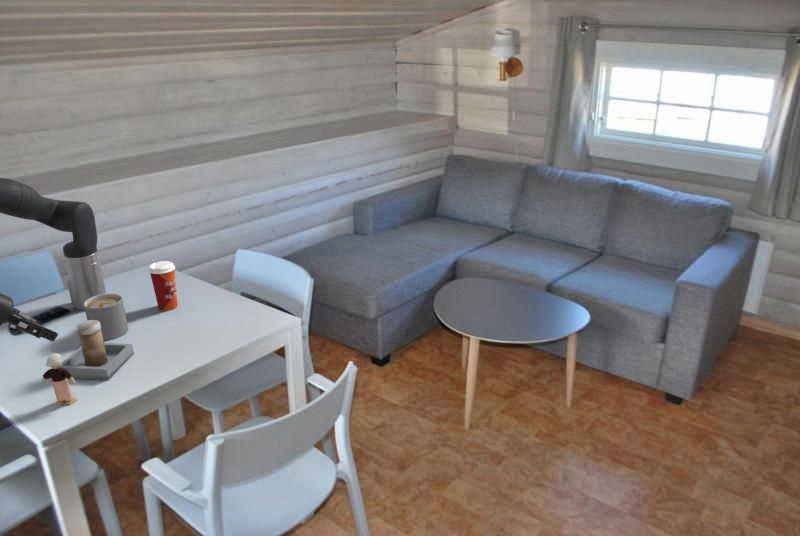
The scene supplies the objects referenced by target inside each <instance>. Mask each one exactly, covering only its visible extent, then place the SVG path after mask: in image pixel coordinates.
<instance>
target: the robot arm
mask: <svg viewBox="0 0 800 536" xmlns="http://www.w3.org/2000/svg"><path fill="white" fill-rule="evenodd" d="M0 214H3V215H7V216H10V217H14V218H18V219H22V220H23V219H24V220H29V221H35V222H38V223H40V224H43V225H46V226H48V227H50V228H51V229H55V230H57V231H59V232H65V233H66V232H67V233H72V240H71V241H69V242H66V243H65V244H64V245H63V247H62V252H63V256H64V261H65V266H66V270H67V275H68V278H66V284H67V288H68V293H69V297H70V301H71V305H72V308H76V309H77V310H79V311H80V310H81V311H85V308H84V302H85V301H86V300H88V299H89V298H91V297H94V296H97V295H101V294H107V292H106V291H107V290H106V286H105V282H104V276H103V272H102V266H101V261H100V257H99V252H98V231H97V225H96V218H95V217H96V216H95V213H94V211H93V208H92V207H91V206H90V204H89V203H87V202H85V201H74V200H59V199H53V198H49V197H45V196H42V195H41V194H40V193H38V191H37V190H36V189H34V188H33V187H31V186H30V185H28V184H25V183H22V182H19V181H16V180H14V179H11V178H6V177H5V178H4V177H0ZM14 306H15V305H14V300H13V298H11V297H10V296H8V295H6V294H3V293H1V292H0V326H2V325H3V324H6V325H7V326H8V327H9V328H12V329H16V330H17V331H18V330H19V331H20V332H22V333H24V334H28V335H31V336H33V337H35V338H37V339H41V338H43V339H45V340H48V341H50V342H55V340H56V339H57V338H58V335H59V333H58V332H57V331H55V330H51V329H49V328H48V327H45V326H44V325H43V322H42V321H41V320H37V319H35V318H33V317H31V316H29V315H28V314H26V313H25V312H24V311H22V310H21V309H18V308H16V307H14Z"/></svg>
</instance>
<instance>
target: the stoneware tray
mask: <svg viewBox="0 0 800 536" xmlns="http://www.w3.org/2000/svg"><path fill="white" fill-rule="evenodd" d="M104 346H105V351H106V355H107V360H108V361H107V363H106V364H104V365H103V366H100V367H88V366H86V364H85V360H84V356H83V351H82V347H81V346H80V347H79V348H76V350H75V351H74V352H73V353H71V354H70V356H68V357H67V358H66V359H65V360H64V361H62V365H61V368H64V369H66V370H67V371H68V372H69V373H70V374H71V375H72V377H73V378H74V379H80V380H81V379H82V380H103V381H104V380H105V381H108V380H111V378H112V377H113V376H114V375H115V374H116V373H117V372H118V371H119V370H120V369H121V368H122V367H123V366H124V365H125V364H126V363H127V362H128V361H129V360H130V358H132V356H133V355H134V354H135V352H134V347H133V343H116V342H115V343H114V342H104Z"/></svg>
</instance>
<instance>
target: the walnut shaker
mask: <svg viewBox="0 0 800 536" xmlns="http://www.w3.org/2000/svg"><path fill="white" fill-rule="evenodd" d="M76 330H77V334H78V337H79V342H80V347H82V351H83V356H84V360H85V364H86V366H88V367H100V366H103V365H104V364H106V363H107V361H108V360H107V355H106V351H105V346H104V343H105V342H104V341H103V337H102V332H101V325H100V322H99V321H98V320H88V321H87V320H85V321H81V322H80V323H78V324H77V325H76Z"/></svg>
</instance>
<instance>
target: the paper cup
mask: <svg viewBox="0 0 800 536" xmlns="http://www.w3.org/2000/svg"><path fill="white" fill-rule="evenodd" d="M175 269H176V266H175V265H174V262H172V261H169V260H163V261H162V260H160V261H157V262H156V261H155V262H154V263H151V264H150V265H149V269H148V272H149V274H150V278H151V282H152V287H153V290H154V291H153V292H154V295H155V299H156V302H157V307H158V310H160V311H164V312H167V311H173V310H175V309H176V308H177V307H178V293H177V283H176V272H175V271H176V270H175Z"/></svg>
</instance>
